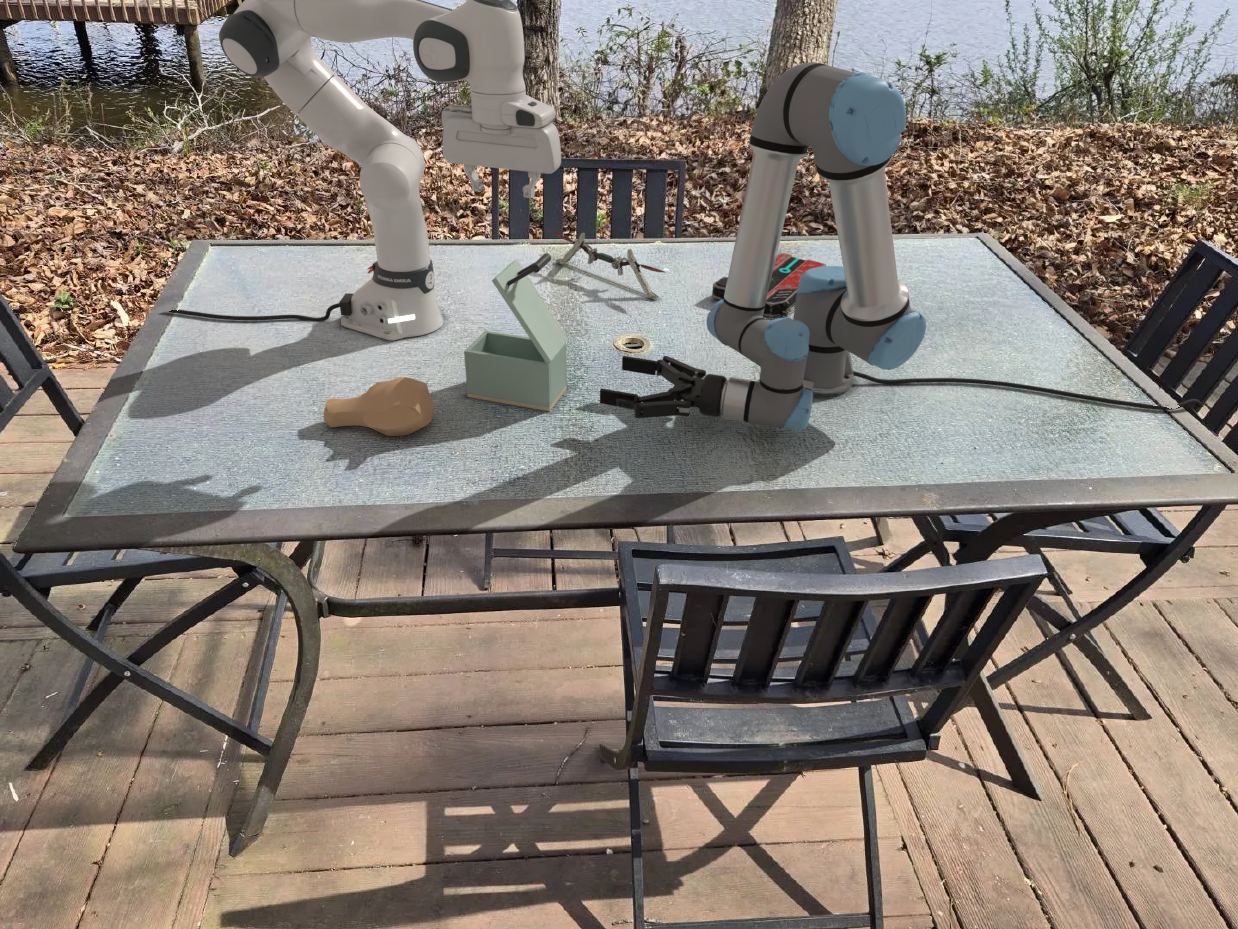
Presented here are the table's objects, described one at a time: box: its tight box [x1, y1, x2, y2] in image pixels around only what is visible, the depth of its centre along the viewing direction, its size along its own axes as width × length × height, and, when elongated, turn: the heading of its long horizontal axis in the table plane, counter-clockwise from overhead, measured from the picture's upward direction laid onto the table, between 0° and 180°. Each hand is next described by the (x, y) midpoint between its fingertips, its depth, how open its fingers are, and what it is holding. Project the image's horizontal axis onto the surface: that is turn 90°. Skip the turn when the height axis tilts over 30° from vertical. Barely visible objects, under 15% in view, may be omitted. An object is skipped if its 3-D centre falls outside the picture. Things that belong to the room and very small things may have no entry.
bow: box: [550, 231, 666, 300], centre depth 217 cm, size 39×2×10 cm, turn 47°
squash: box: [323, 376, 435, 437], centre depth 157 cm, size 11×20×9 cm, turn 90°
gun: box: [711, 252, 827, 318], centre depth 215 cm, size 4×31×19 cm
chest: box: [463, 330, 568, 412], centre depth 168 cm, size 17×10×10 cm, turn 73°
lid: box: [491, 252, 569, 363], centre depth 158 cm, size 18×10×8 cm
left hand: (503, 193), depth 150 cm, fingers open, 8 cm apart
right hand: (611, 378), depth 163 cm, fingers open, 13 cm apart
